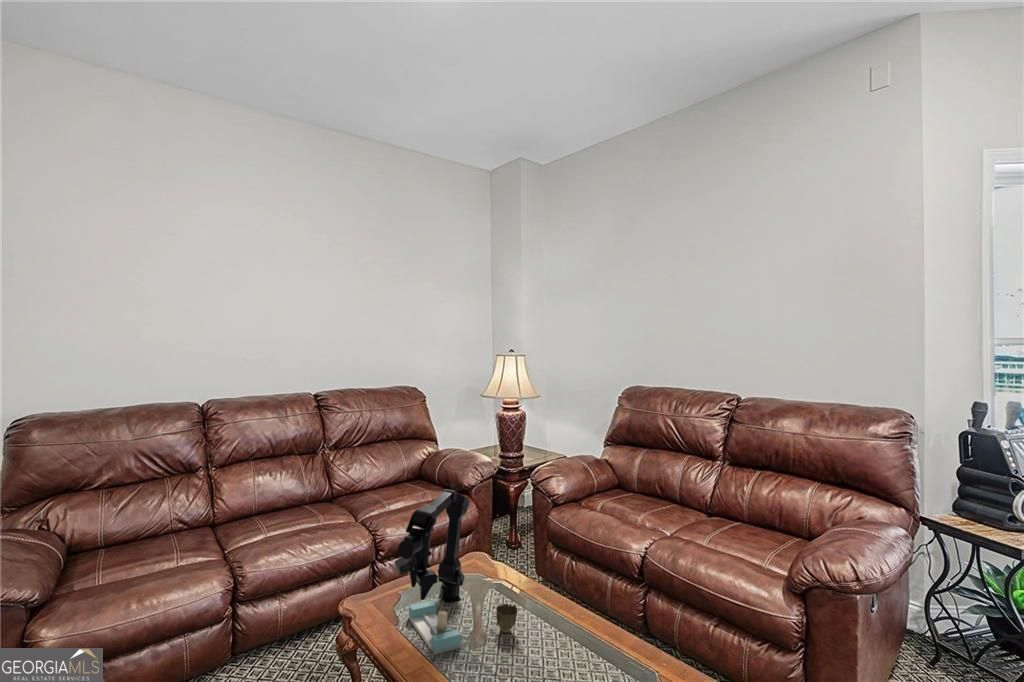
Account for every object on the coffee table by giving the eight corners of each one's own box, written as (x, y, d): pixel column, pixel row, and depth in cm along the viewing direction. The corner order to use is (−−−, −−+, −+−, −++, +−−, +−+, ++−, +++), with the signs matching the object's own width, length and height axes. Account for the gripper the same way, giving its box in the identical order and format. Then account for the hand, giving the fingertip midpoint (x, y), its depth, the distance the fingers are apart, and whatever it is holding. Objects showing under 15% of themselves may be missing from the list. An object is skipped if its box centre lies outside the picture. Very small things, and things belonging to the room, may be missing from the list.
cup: (494, 624, 186) (496, 602, 186) (514, 625, 187) (516, 603, 187) (495, 637, 179) (497, 613, 179) (516, 637, 179) (518, 614, 179)
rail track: (431, 612, 191) (432, 600, 191) (460, 647, 171) (461, 634, 171) (408, 618, 186) (409, 605, 186) (434, 654, 166) (435, 640, 166)
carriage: (446, 631, 177) (448, 608, 177) (451, 638, 173) (453, 614, 173) (429, 635, 174) (431, 611, 174) (435, 643, 170) (437, 618, 170)
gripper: (389, 540, 182) (386, 584, 182) (407, 562, 166) (403, 611, 166) (420, 536, 188) (417, 579, 188) (440, 557, 172) (436, 604, 172)
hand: (417, 593), depth 178 cm, fingers open, 9 cm apart
